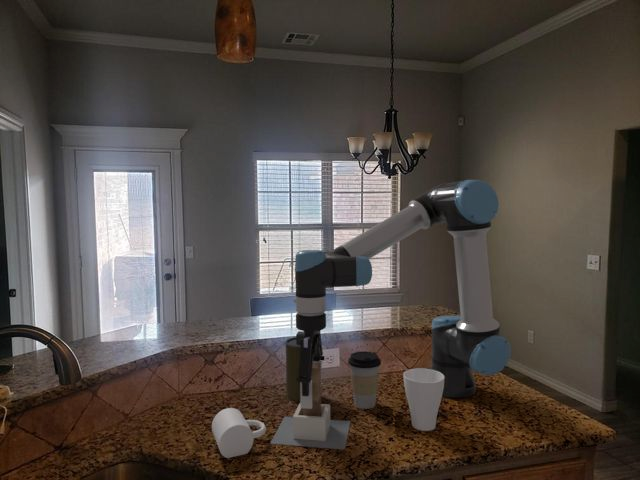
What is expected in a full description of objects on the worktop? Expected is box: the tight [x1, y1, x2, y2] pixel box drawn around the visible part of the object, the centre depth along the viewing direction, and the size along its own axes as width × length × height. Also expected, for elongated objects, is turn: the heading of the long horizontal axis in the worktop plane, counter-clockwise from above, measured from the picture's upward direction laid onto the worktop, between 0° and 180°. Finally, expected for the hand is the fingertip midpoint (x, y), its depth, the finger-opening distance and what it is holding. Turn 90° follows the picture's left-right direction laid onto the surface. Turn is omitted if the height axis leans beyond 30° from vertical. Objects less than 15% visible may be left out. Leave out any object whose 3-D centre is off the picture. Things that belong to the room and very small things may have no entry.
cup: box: [402, 367, 445, 432], centre depth 114 cm, size 10×10×14 cm
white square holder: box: [292, 403, 331, 441], centre depth 110 cm, size 8×8×6 cm
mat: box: [269, 416, 351, 450], centre depth 110 cm, size 18×14×1 cm
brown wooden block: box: [303, 363, 322, 417], centre depth 109 cm, size 4×4×16 cm
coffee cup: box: [347, 350, 382, 410], centre depth 125 cm, size 9×9×15 cm
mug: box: [211, 407, 267, 459], centre depth 104 cm, size 12×10×8 cm
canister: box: [284, 330, 314, 402], centre depth 132 cm, size 11×10×20 cm
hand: (311, 396), depth 109 cm, fingers open, 13 cm apart
